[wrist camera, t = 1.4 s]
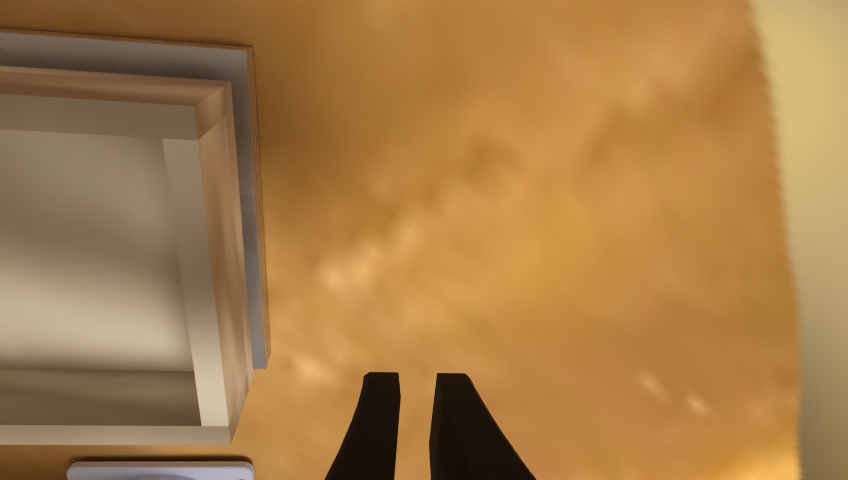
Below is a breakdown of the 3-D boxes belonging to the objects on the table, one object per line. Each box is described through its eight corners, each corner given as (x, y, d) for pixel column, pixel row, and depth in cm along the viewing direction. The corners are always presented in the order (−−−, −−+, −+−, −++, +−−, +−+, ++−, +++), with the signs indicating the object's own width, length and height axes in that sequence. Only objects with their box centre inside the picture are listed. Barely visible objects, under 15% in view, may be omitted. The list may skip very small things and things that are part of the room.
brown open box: (258, 359, 20) (230, 445, 17) (-39, 354, 19) (-141, 445, 16) (238, 75, 16) (194, 106, 12) (-153, 49, 15) (-336, 72, 11)
